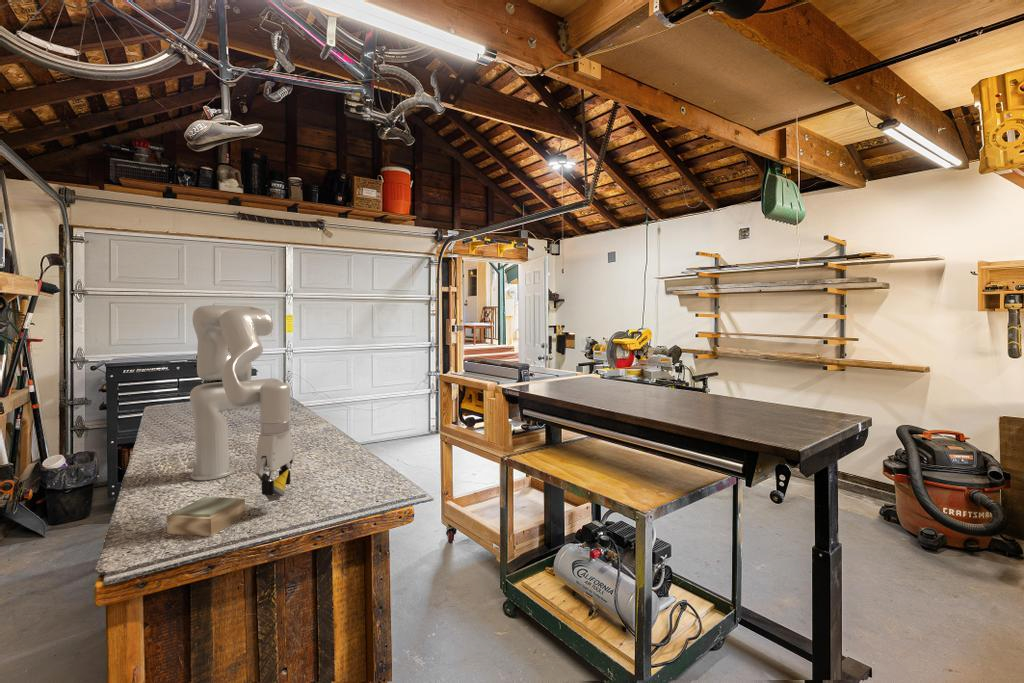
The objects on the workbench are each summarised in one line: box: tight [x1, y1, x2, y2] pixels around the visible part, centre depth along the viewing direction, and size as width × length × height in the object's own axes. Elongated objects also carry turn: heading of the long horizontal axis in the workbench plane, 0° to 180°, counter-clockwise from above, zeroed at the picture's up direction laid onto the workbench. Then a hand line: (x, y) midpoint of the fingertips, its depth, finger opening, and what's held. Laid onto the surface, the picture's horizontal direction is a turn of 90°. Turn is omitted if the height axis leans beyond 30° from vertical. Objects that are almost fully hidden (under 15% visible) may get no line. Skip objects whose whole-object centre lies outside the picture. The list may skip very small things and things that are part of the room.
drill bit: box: [264, 469, 290, 502], centre depth 126 cm, size 5×5×10 cm
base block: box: [166, 496, 246, 537], centre depth 118 cm, size 12×12×5 cm
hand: (276, 488), depth 126 cm, fingers closed on drill bit, 6 cm apart
